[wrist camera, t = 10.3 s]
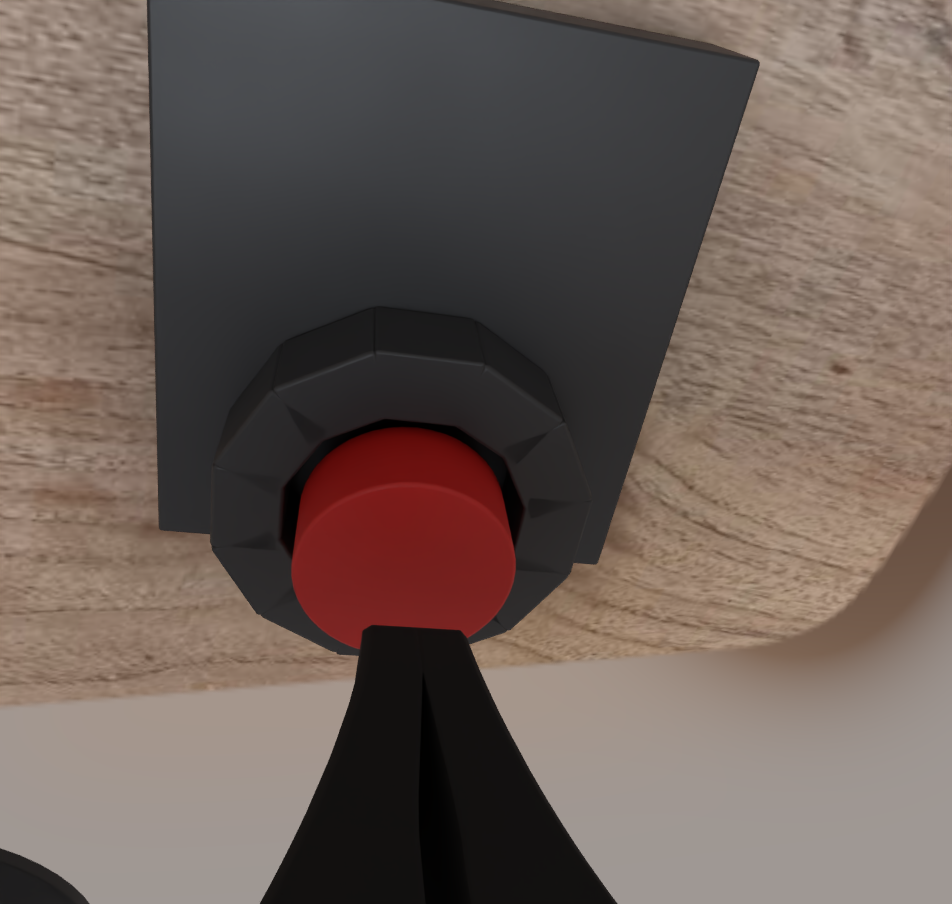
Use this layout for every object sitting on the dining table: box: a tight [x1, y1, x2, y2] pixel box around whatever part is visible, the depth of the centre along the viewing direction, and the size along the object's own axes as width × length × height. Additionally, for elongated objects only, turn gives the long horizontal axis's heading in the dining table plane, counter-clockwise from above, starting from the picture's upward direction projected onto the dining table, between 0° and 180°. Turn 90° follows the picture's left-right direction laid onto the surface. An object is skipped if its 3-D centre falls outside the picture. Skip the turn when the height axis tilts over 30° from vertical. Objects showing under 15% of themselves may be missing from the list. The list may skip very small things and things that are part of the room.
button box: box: [147, 0, 760, 656], centre depth 15 cm, size 11×9×4 cm
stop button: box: [291, 427, 516, 649], centre depth 14 cm, size 4×4×2 cm
